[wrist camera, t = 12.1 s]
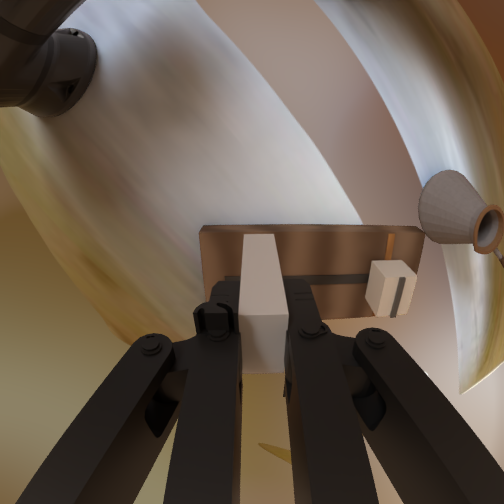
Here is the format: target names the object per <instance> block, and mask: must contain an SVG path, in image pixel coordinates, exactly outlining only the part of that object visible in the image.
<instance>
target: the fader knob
mask: <svg viewBox="0 0 504 504" xmlns="http://www.w3.org/2000/svg"><path fill="white" fill-rule="evenodd" d="M417 277H418V276H417V275H416V274H415V273H414V272H413V271H412V270H411V269H410V268H409V267H408V266H407V265H406V264H405V263H404V262H403V261H402V260H379V261H372V263H371V268H370V274H369V280H368V285H367V290H366V295H365V298H366V300H367V302H368V304H369V305H370V307H371V309H372V311H373V312H374V314H375V316H376V317H385V316H390V317H391V318H393V317H396V315H404V314H407V313H408V309H409V306H410V303H411V299H412V296H413V292H414V288H415V284H416V281H417Z"/></svg>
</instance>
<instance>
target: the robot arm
mask: <svg viewBox="0 0 504 504" xmlns="http://www.w3.org/2000/svg"><path fill="white" fill-rule="evenodd" d="M85 1H86V0H0V107H15V106H17V107H19V108H21V109H23V110H25V111H27V112H29V113H31V114H33V115H35V116H39V117H53V116H58V115H60V114H62V113H64V112H66V111H67V110H69V109H70V108H71V107H72V106H73V105H74V104H75V103H76V102H77V101H78V100H79V99H80V98H81V96H82V95H83V93H84V92H85V90H86V89H87V87H88V85H89V83H90V81H91V78H92V76H93V73H94V69H95V65H96V47H95V44H94V41H93V39H92V38H91V37H90V36H89V35H88V34H87V33H85V32H82V31H80V30H78V29H74V28H64V29H58V27H59V26H60V25H61V24H62V23H63V22H64V21H65V20H66V19H67V18H68V17H69V16H70V15H71V14H72V13H73V12H74V11H75V10H76V9H77V8H78V7H79V6H80V5H81V4H83V3H84V2H85ZM193 316H194V322H195V327H196V333H197V334H196V336H195V337H192V338H190V339H188V340H184V341H179V342H174V343H172V342H171V340H170V339H169V338H168V337H167V336H165V335H162V334H156V333H153V334H147V335H145V336H142V337H140V338H139V339H138V340H136V341H135V342H134V343H133V345H132V346H131V347H130V348H129V350H128V351H127V352H126V353H125V354H124V356H123V357H122V358H121V360H120V361H119V362H118V364H117V365H116V366H115V367H114V368H113V370H112V371H111V372H110V373H109V375H108V376H107V377H106V378H105V380H104V381H103V383H102V384H101V385H100V386H99V387H98V389H97V390H96V391H95V393H94V394H93V395H92V397H91V398H90V399H89V401H88V402H87V403H86V405H85V406H84V407H83V408H82V410H81V411H80V413H79V414H78V415H77V416H76V418H75V419H74V420H73V422H72V423H71V424H70V426H69V427H68V429H67V430H66V431H65V433H64V434H63V435H62V437H61V438H60V439H59V441H58V442H57V444H56V445H55V446H54V448H53V449H52V451H51V452H50V453H49V455H48V456H47V458H46V459H45V460H44V462H43V463H42V465H41V466H40V468H39V469H38V471H37V472H36V474H35V475H34V476H33V478H32V479H31V481H30V482H29V484H28V485H27V487H26V488H25V490H24V491H23V493H22V494H21V496H20V497H19V499H18V500H17V502H16V503H15V504H133V503H134V501H135V499H136V497H137V495H138V493H139V491H140V490H141V488H142V486H143V484H144V482H145V480H146V478H147V476H148V474H149V472H150V471H151V469H152V467H153V465H154V463H155V461H156V459H157V457H158V455H159V453H160V452H161V450H162V448H163V446H164V444H165V442H166V440H167V438H168V436H169V434H170V432H171V430H172V429H173V427H174V425H175V423H176V421H177V419H178V423H177V428H176V433H175V438H174V443H173V449H172V454H171V460H170V465H169V471H168V477H167V483H166V489H165V495H164V502H163V504H240V468H241V463H240V462H241V426H242V425H241V424H242V388H243V384H242V374H264V373H265V374H267V373H284V367H285V385H284V394H283V397H286V404H287V415H288V426H289V435H290V436H289V437H290V448H291V460H292V471H293V483H294V495H295V504H379V501H378V497H377V492H376V488H375V483H374V479H373V475H372V471H371V466H370V463H369V458H368V454H367V451H366V447H365V443H364V439H363V435H364V437H365V438H366V440H367V442H368V444H369V445H370V447H371V449H372V450H373V452H374V454H375V456H376V457H377V459H378V460H379V462H380V464H381V466H382V467H383V469H384V471H385V473H386V474H387V476H388V478H389V479H390V481H391V483H392V484H393V486H394V488H395V490H396V491H397V493H398V495H399V496H400V498H401V500H402V502H403V503H404V504H504V472H503V470H502V469H501V467H500V466H499V465H498V463H497V462H496V460H495V459H494V458H493V456H492V455H491V454H490V452H489V451H488V450H487V448H486V447H485V446H484V444H482V442H481V441H480V439H479V438H478V437H477V435H476V434H475V433H474V432H473V430H472V429H471V428H470V426H469V425H468V424H467V423H466V421H465V420H464V419H463V418H462V416H461V415H460V414H459V413H458V412H457V410H456V409H455V408H454V407H453V405H452V404H451V403H450V402H449V401H448V399H447V398H446V397H445V396H444V395H443V393H442V392H441V391H440V390H439V389H438V387H437V386H436V385H435V384H434V383H433V382H432V380H431V379H430V378H429V377H428V376H427V375H426V373H425V372H424V371H423V370H422V369H421V368H420V367H419V365H418V364H417V363H416V362H415V361H414V360H413V359H412V358H411V356H410V355H409V354H408V353H407V352H406V351H405V350H404V349H403V347H402V346H401V345H400V344H399V343H398V342H397V341H396V340H395V339H394V338H393V336H391V335H390V334H389V333H388V332H387V331H384V330H381V329H379V328H366V329H363V330H361V331H359V333H358V334H357V335H356V338H351V337H345V336H340V335H336V334H334V333H332V332H331V330H330V328H329V327H328V325H326V324H325V323H323V322H322V320H321V317H320V314H319V311H318V308H317V305H316V302H315V300H314V296H313V294H312V290H311V287H310V284H308V283H307V282H306V281H305V280H304V279H282V274H281V269H280V264H279V258H278V253H277V248H276V243H275V237H274V234H244V241H243V255H242V269H241V281H218V282H217V283H216V284H215V285H214V286H213V287H212V290H211V295H210V299H209V301H208V302H205V303H202V304H201V305H199V306H198V307H196V309H195V310H194V312H193ZM362 434H363V435H362Z"/></svg>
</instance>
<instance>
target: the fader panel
mask: <svg viewBox="0 0 504 504" xmlns="http://www.w3.org/2000/svg"><path fill="white" fill-rule="evenodd" d="M244 234H274V237H275V243H276V248H277V253H278V258H279V264H280V269H281V274H282V279H304V280H305V281H306V282H307V283H308V284H310V287H311V290H312V294H313V296H314V300H315V302H316V305H317V308H318V311H319V314H320V317H321V320H325V319H343V318H358V317H371V316H375V314H374V312H373V311H372V309H371V307H370V305H369V304H368V302H367V300H366V298H365V295H366V290H367V285H368V280H369V274H370V268H371V263H372V261H379V260H402V261H403V262H404V263H405V264H406V265H407V266H408V267H409V268H410V269H411V270H412V271H413V272H414V273H415V274H416V275H417V271H418V267H419V263H420V258H421V253H422V249H423V244H424V238H425V232H423V231H422V230H421V229H419V228H418V227H416V226H386V225H385V226H384V225H323V224H269V225H204V226H203V227H202V228H201V230H200V232H199V239H200V250H201V260H202V270H203V279H204V288H205V297H206V302H208V301H209V299H210V295H211V290H212V287H213V286H214V285H215V284H216V283H217V282H218V281H241V269H242V255H243V241H244Z"/></svg>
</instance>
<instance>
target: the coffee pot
mask: <svg viewBox="0 0 504 504" xmlns="http://www.w3.org/2000/svg"><path fill="white" fill-rule="evenodd" d="M418 212H419V219H420V223H421V226H422V229H423V230H424V232H425V234H426V235H427V236H428V237H429V238H430V239H431V240H432V241H434V242H437V243H439V244H469V243H473V246H474V251H475V252H477V253H480V254H489V253H491V252H492V251H493V252H494V253H495V254H496V256H497V257H498V258H499V261H500V262H501V264H502V266H503V267H504V257H503V255H501V253H500V252H499V250H498V248H497V246H498V245H499V243H500V241H501V239H502V236H503V233H504V214H503V211H502V210H501V208H500V207H498V206H497V205H489V206H487V205H486V203H485V202H484V200H483V199H482V198H481V196H480V195H479V194H478V192H477V191H476V190H475V189H474V187H473V186H472V185H471V183H470V182H469V181H468V180H467V179H466V177H465V176H464V175H462V174H461V173H459V172H457V171H454V170H445V171H441V172H439V173H438V174H436V175H434V176H432V177H431V179H430V180H429V181H428V182H427V183H426V185H425V186H424V188H423V190H422V193H421V196H420V199H419V206H418Z"/></svg>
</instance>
